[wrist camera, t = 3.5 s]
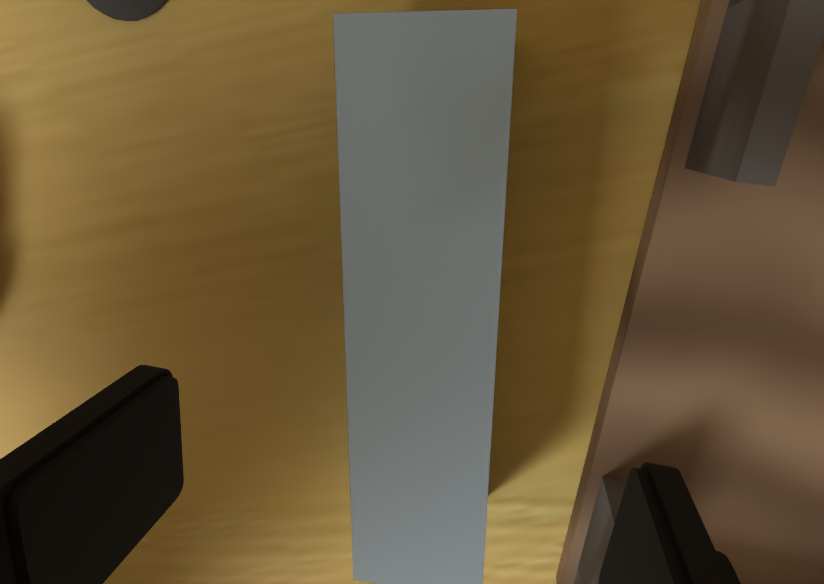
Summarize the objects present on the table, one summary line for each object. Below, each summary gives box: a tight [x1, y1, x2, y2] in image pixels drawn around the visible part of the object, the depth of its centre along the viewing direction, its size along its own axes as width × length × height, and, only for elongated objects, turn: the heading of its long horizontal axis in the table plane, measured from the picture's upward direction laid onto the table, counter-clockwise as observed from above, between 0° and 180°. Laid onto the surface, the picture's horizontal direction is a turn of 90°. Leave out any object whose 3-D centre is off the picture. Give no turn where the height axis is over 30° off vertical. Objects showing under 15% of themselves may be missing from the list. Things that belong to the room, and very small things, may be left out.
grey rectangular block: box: [333, 9, 517, 584], centre depth 20 cm, size 20×5×6 cm, turn 0°
